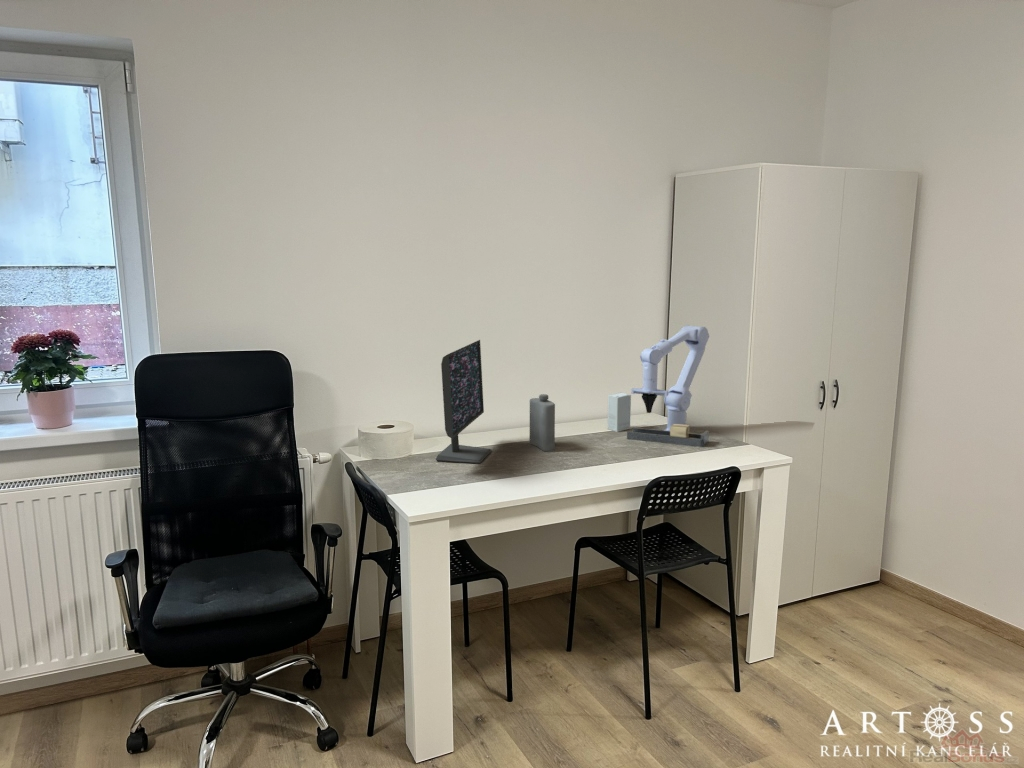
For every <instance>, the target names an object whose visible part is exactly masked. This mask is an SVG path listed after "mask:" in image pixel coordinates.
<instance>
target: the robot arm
mask: <svg viewBox="0 0 1024 768" xmlns="http://www.w3.org/2000/svg"><path fill="white" fill-rule="evenodd" d="M709 338H710V334H709V330H708V328H707V327H706V326H695V325H690V324H687V325H684V326H683V327H681V328H680V330H679V331H677V333H676V334H674V335H673V336H671V337H670V338H669V339H660V340H659V342H657V343H655V344H654V345H653V344H652V345H651V347H650V348H647V347H646V348H644V349H643V350H642V351H641V353H640V355H639V359H640V361H641V366H642V388H639V387H637V388H635V387H632V388H631V390H630V391H631V392H630V393H631V394H633V395H635V394H638V395H640V394H641V399H642V402H643V403H644V406H645V411H646V414H651V413H652V411H653V406H654V404H655V402H656V400H657V398H658V396H663V403H664V405H665V406H666V410H667V419H666V420H667V421H666V422H667V423H666V428H665V429H664V430H665V431H670V427H671V426H672V425H673V424H681V425H687V410H688V408H689V407H690V405H691V398H692V396H693V394H692V392H691V391H690V390H689V389H690V387H691V385H692V382H693V379H694V377H695V375H696V373H697V370H698V368H699V365H700V363H701V361H702V358H703V355H704V353H705V351H706V346H707V344H708V341H709ZM683 342H685V344H686V345H687V347H688V349H689V352H688V354H687V356H686V359H685V362H684V365H683V367H682V369H681V371H680V373H679V377H678V379H677V381H676V384H675V385H673V386H671V387H670V388H669V389H668V390H664V389H658V371H659V370H658V366H659V363H661V361H662V358H664V357H665V356H666V355H668V354H670V353H671V352H672V351H673V348H674V347H676V346H677V345H679V344H681V343H683Z"/></svg>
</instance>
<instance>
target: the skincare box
mask: <svg viewBox="0 0 1024 768" xmlns="http://www.w3.org/2000/svg"><path fill="white" fill-rule="evenodd" d="M631 398H632V395H631V394H629V393H624V392H618V393H613V394H608V395H607V420H606V421H607V425H606V427H607V429H606V430H609V431H613V432H616V433H617V432H621V431H627V430H629V429H631V406H632V399H631Z"/></svg>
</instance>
